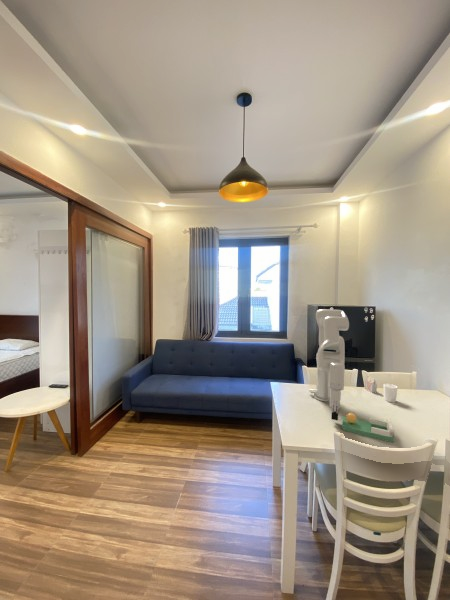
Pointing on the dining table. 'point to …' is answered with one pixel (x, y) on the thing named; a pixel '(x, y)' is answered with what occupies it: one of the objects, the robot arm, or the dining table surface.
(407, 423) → the dining table surface
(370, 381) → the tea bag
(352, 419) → the ball
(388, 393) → the white cup
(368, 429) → the green
